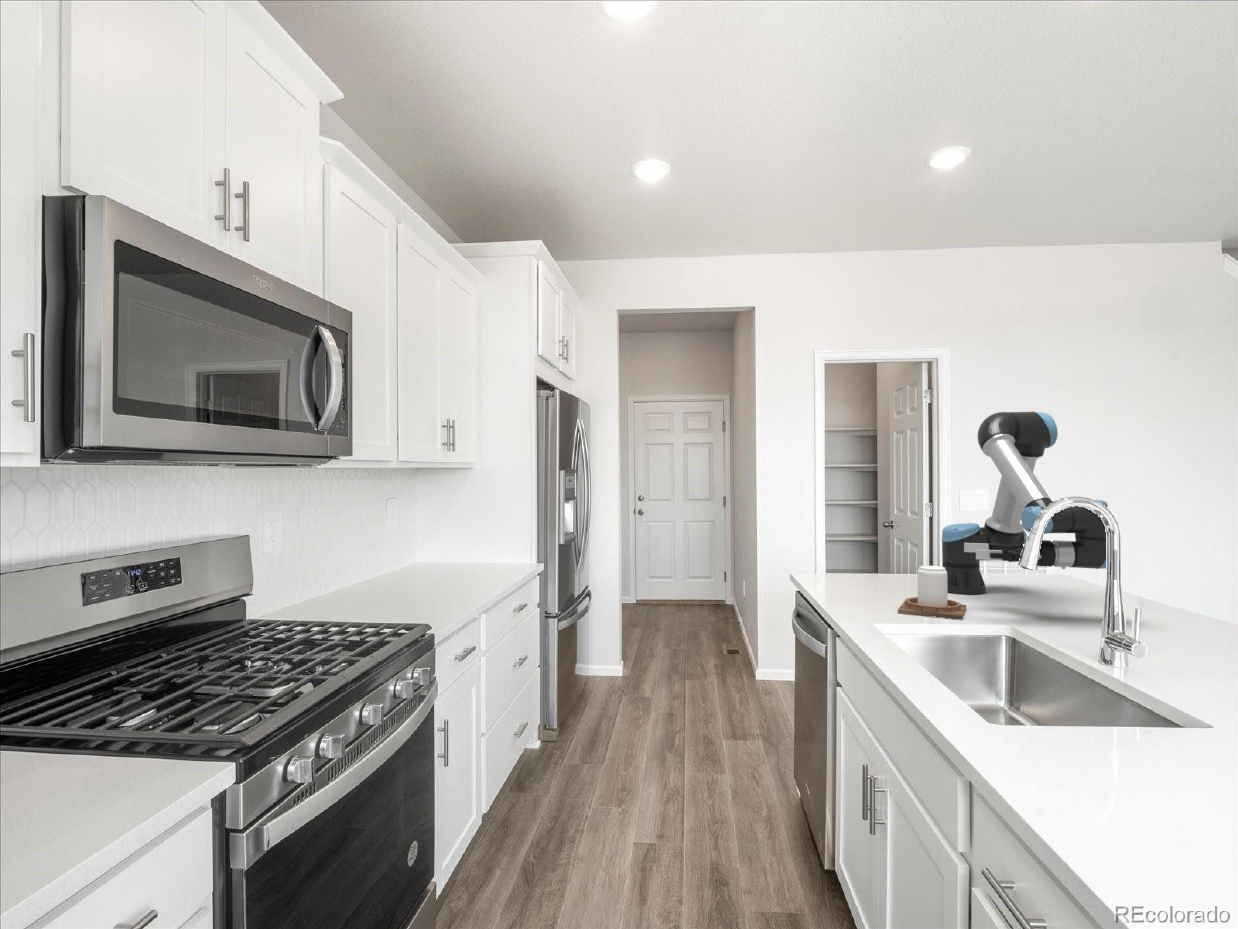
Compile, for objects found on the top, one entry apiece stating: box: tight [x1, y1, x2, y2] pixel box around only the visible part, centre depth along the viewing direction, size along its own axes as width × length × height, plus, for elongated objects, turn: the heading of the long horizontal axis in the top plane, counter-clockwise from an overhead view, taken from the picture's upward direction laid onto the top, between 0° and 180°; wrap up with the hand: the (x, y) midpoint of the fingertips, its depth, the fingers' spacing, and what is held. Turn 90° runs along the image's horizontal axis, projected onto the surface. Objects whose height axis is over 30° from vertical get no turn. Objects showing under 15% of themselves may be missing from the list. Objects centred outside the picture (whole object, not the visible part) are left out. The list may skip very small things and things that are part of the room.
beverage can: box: [917, 565, 949, 607], centre depth 194 cm, size 8×8×12 cm
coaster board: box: [897, 596, 967, 620], centre depth 194 cm, size 17×17×3 cm
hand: (970, 550), depth 190 cm, fingers open, 13 cm apart
